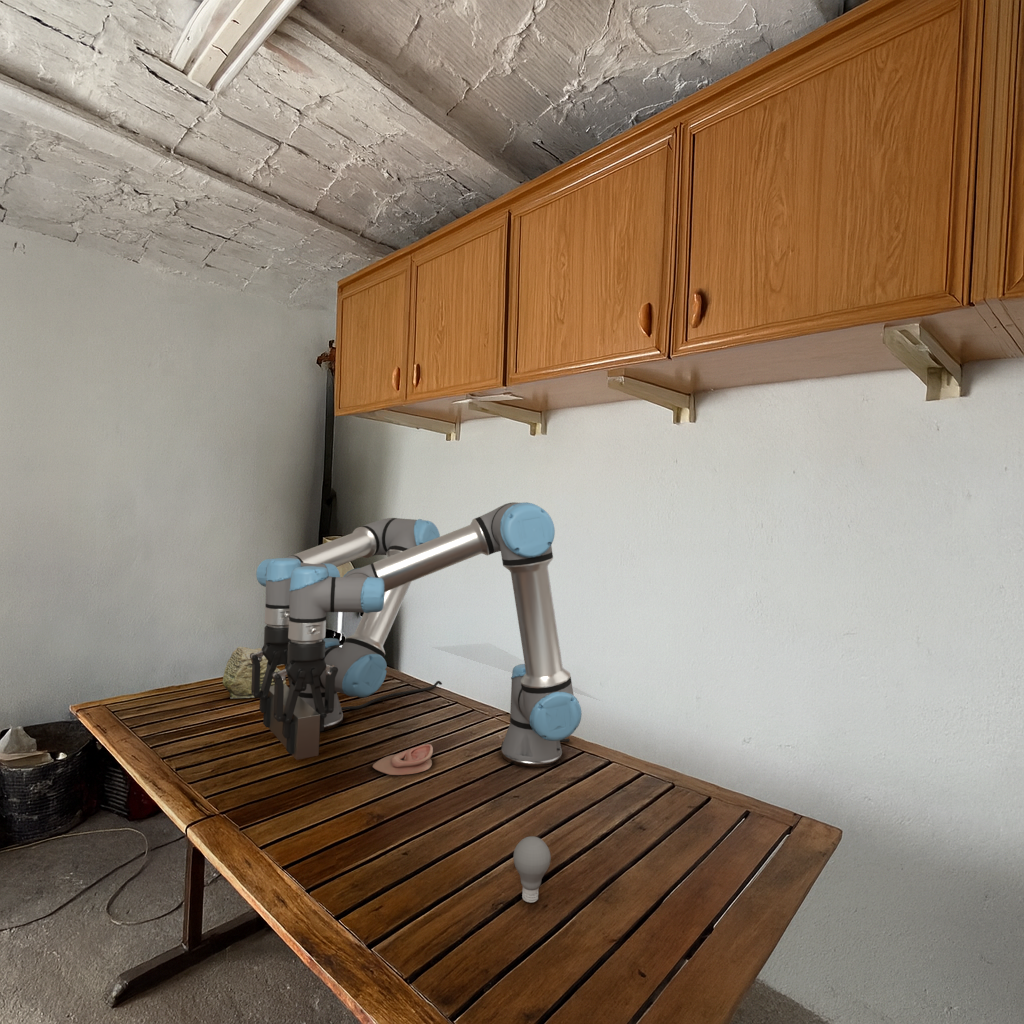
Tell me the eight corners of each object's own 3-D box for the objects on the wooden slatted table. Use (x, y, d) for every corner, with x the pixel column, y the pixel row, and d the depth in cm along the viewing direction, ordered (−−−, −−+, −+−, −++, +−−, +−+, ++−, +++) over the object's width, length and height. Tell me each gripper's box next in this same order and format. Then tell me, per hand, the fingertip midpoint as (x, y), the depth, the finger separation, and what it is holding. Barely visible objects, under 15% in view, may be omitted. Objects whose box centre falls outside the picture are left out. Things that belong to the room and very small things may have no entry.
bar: (264, 723, 150) (265, 686, 150) (283, 719, 153) (285, 684, 153) (296, 760, 130) (298, 718, 130) (318, 755, 133) (320, 714, 133)
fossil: (218, 695, 195) (220, 647, 195) (278, 685, 208) (279, 640, 207) (228, 703, 189) (230, 653, 188) (289, 692, 201) (290, 645, 201)
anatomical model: (367, 754, 146) (387, 737, 157) (366, 771, 146) (386, 752, 158) (422, 762, 144) (438, 743, 155) (421, 779, 144) (437, 759, 155)
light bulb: (510, 888, 105) (512, 829, 104) (546, 888, 105) (548, 829, 105) (513, 912, 99) (515, 849, 98) (551, 912, 99) (554, 849, 99)
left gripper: (246, 631, 140) (242, 735, 140) (324, 624, 150) (320, 721, 151) (237, 624, 146) (234, 725, 146) (313, 618, 156) (310, 712, 157)
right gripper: (268, 648, 126) (264, 764, 126) (353, 639, 136) (349, 747, 137) (258, 640, 132) (254, 751, 132) (340, 632, 142) (336, 735, 143)
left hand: (278, 723), depth 149 cm, fingers closed on bar, 5 cm apart
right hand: (302, 749), depth 134 cm, fingers closed on bar, 5 cm apart
